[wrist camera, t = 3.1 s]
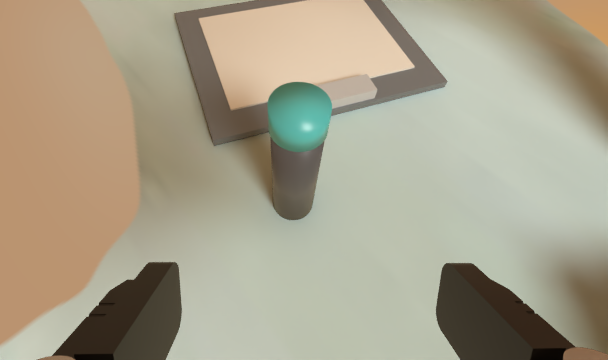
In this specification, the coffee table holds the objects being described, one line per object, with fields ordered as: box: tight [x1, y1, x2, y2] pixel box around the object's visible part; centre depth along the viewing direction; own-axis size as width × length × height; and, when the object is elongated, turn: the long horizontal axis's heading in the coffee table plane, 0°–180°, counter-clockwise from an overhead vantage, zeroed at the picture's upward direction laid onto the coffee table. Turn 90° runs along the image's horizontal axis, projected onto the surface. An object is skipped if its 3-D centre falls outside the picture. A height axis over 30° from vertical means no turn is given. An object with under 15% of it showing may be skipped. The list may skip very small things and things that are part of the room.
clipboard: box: [174, 0, 447, 146], centre depth 38 cm, size 26×20×2 cm
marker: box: [267, 82, 332, 220], centre depth 24 cm, size 4×4×12 cm
